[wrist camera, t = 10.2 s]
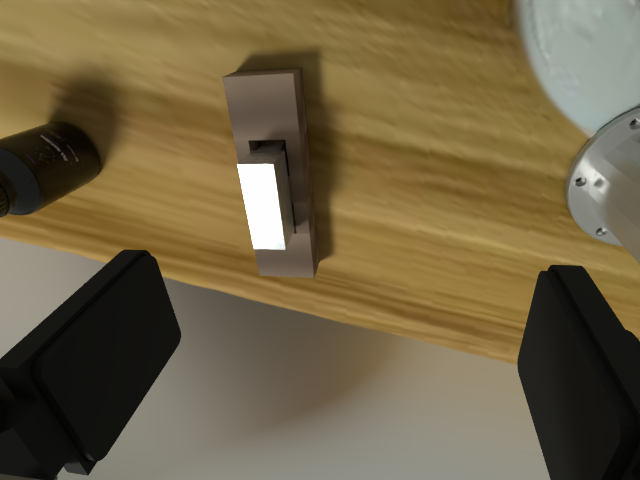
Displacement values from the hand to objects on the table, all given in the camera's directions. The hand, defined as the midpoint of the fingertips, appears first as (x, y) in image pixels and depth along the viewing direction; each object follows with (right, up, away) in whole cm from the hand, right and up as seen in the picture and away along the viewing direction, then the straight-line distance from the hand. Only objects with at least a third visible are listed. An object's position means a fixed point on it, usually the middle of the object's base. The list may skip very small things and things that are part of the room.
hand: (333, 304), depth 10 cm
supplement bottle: (-27, +11, +33) cm, 44 cm away
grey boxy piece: (-4, +8, +30) cm, 31 cm away
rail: (-4, +8, +30) cm, 31 cm away
